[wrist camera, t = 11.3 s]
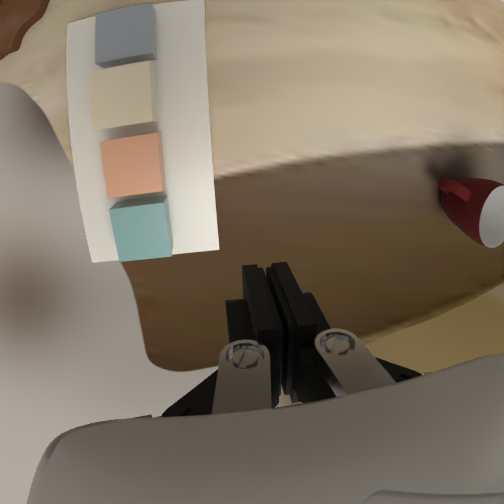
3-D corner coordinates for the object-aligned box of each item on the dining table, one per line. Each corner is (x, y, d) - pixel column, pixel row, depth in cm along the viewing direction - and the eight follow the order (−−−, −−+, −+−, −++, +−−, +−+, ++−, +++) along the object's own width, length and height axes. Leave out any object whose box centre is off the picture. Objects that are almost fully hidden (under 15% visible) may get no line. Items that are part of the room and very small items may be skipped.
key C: (117, 138, 29) (100, 141, 24) (164, 131, 30) (156, 133, 24) (122, 185, 31) (107, 198, 26) (169, 179, 32) (162, 191, 26)
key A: (112, 30, 24) (95, 13, 19) (159, 21, 25) (151, 2, 20) (113, 73, 26) (95, 64, 21) (160, 65, 27) (152, 53, 22)
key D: (124, 194, 32) (109, 209, 26) (170, 188, 32) (163, 202, 27) (131, 239, 34) (119, 261, 28) (175, 234, 34) (171, 256, 29)
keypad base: (76, 30, 24) (67, 23, 22) (203, 8, 26) (204, -2, 23) (99, 251, 35) (92, 262, 32) (217, 239, 36) (219, 249, 34)
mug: (408, 207, 38) (457, 234, 29) (428, 151, 36) (482, 165, 27) (455, 229, 41) (501, 255, 32) (473, 180, 38) (522, 198, 29)
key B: (109, 80, 25) (89, 72, 20) (159, 71, 26) (149, 60, 21) (112, 129, 27) (92, 131, 22) (162, 121, 28) (152, 121, 22)
